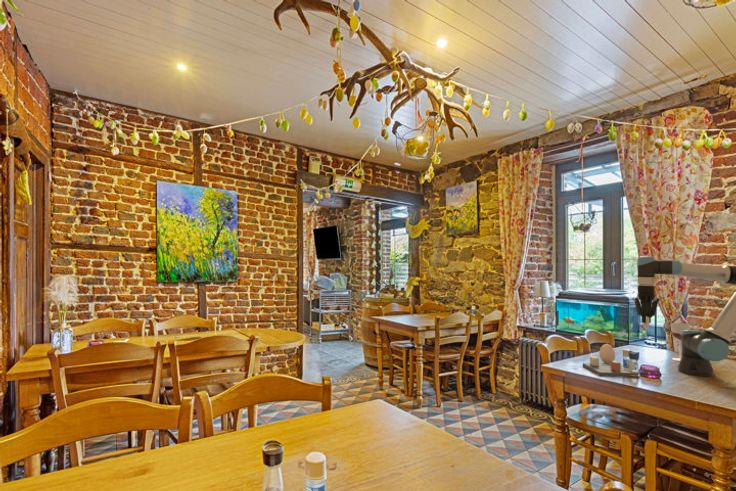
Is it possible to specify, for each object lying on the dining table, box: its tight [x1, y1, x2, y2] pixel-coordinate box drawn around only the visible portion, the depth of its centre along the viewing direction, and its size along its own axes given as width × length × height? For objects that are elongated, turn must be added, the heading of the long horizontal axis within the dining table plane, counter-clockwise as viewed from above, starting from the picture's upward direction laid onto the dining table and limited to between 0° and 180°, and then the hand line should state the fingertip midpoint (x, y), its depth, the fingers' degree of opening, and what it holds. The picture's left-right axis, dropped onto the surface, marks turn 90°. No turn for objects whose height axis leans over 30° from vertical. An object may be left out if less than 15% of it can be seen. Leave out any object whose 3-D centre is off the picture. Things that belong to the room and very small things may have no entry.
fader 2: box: [610, 360, 622, 371], centre depth 212 cm, size 3×4×4 cm
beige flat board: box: [582, 362, 638, 378], centre depth 217 cm, size 20×18×2 cm
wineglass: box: [670, 322, 690, 362], centre depth 244 cm, size 9×10×22 cm
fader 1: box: [589, 356, 600, 366], centre depth 222 cm, size 3×4×4 cm
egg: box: [598, 343, 616, 364], centre depth 234 cm, size 8×8×11 cm
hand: (646, 329), depth 212 cm, fingers closed
